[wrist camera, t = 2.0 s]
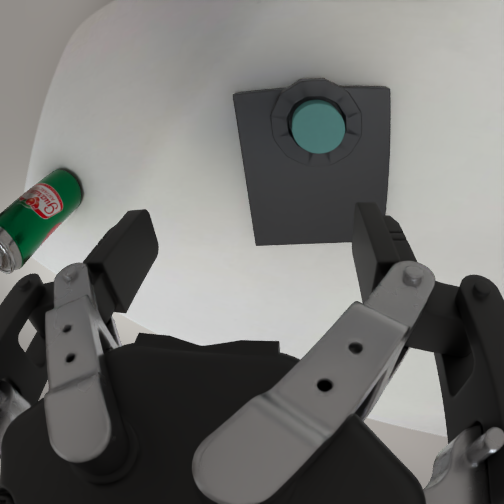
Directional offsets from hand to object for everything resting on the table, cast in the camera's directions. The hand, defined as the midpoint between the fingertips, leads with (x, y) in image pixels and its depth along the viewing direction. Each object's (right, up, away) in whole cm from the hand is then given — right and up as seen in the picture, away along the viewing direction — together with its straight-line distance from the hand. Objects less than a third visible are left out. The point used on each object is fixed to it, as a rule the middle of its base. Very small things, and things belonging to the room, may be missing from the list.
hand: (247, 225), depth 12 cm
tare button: (+5, +8, +9) cm, 13 cm away
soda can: (-20, +6, +18) cm, 27 cm away
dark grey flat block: (+6, +6, +14) cm, 16 cm away
